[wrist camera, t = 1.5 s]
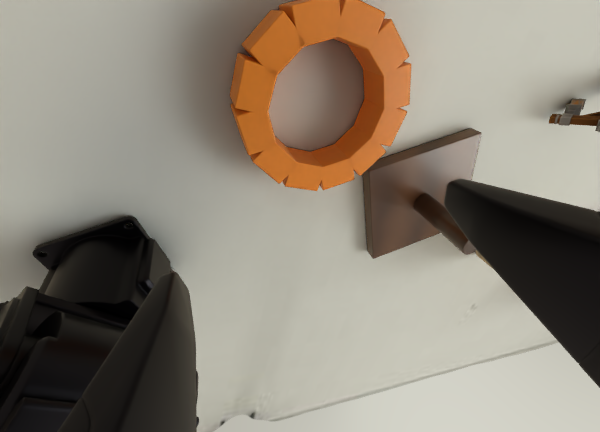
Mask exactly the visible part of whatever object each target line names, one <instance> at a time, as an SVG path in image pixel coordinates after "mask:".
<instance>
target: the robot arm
mask: <svg viewBox="0 0 600 432" xmlns="http://www.w3.org/2000/svg"><path fill="white" fill-rule="evenodd" d="M444 205H445V208H446V210H447V211H448V212H449V214H450V215H451V217H452V218H453V219H454V221H455V222H456V224H457V225H458V226H459V228H460V229H461V231H462V232H463V233H464V235H465V236H466V237H467V239H468V240H469V241H470V243H471V244H472V245H473V246H474V247H475V249H476V250H477V251H478V252H479V253H480V254H481V255H482V256H483V258H484V259H485V260H486V261H487V262H488V263H489V264H490V265H491V267H492V268H493V269H494V270H495V271H496V272H497V273H498V274H499V275H500V277H501V278H502V279H503V280H504V281H505V282H506V283H507V284H508V286H509V287H510V288H511V289H512V290H513V291H514V292H515V293H516V294H517V296H518V297H519V298H520V299H521V300H522V301H523V302H524V303H525V305H526V306H527V307H528V308H529V309H530V310H531V311H532V312H533V313H534V315H535V316H536V317H537V318H538V319H539V320H540V321H541V322H542V324H543V325H544V326H545V327H546V328H547V329H548V330H549V331H550V332H551V334H552V335H553V336H554V337H555V338H556V339H557V340H558V341H559V343H561V345H562V346H563V347H564V348H565V349H566V350H567V351H568V353H569V354H570V355H571V356H572V357H573V358H574V359H575V360H576V362H578V363H579V365H580V366H581V367H582V368H583V370H584V371H585V372H586V373H587V374H588V375H589V376H590V377H591V379H592V380H593V381H594V382H595V383H596V384H597V385H598V386H599V387H600V212H596V211H594V210H590V209H586V208H582V207H578V206H574V205H570V204H565V203H561V202H557V201H553V200H549V199H545V198H541V197H536V196H532V195H528V194H524V193H520V192H516V191H512V190H507V189H503V188H499V187H495V186H491V185H487V184H483V183H478V182H474V181H470V180H466V179H457V180H453V181H451V182H449V183H448V184H447V187H446V193H445V198H444ZM126 223H131V224H133V225H127V224H126ZM41 251H43V252H46V253H42V252H41ZM33 256H34V257H35V258H36V259H37V260H38V261H39V262H41V263H42V264H43V265H44V266H45V267H46V268H47V269H48V270H49V272H48V274H47V276H46V278H45V279H44V281H43V283H42V285H41V287H40V289H39V290H37V289H34V288H31V287H26V288H25V289H24V290H23V291H22V292H21V293H20V294H19V295H18V296H17V297H16V298H13V299H12V300H11V301H6V302H5V303H0V432H196V428H197V426H198V423H199V418H198V417H196V404H197V396H198V373H197V371H196V342H195V332H194V325H193V317H192V309H191V302H190V295H189V291H188V288H187V287H186V285H185V284H184V282H183V281H182V279H181V278H180V276H179V275H178V273H176V272H174V271H173V270H172V268H171V267H170V261H169V259H168V258H167V256H166V255H165V253H164V252H163V251H162V249H161V248H160V246H159V245H158V243H157V242H156V241H155V240H154V239H152V238H150V237H149V236H148V235H147V233H146V232H145V230H144V229H143V228H142V226H141V225H140V223H139V222H138V221H137V219H136V218H134V217H131V216H127V217H123V218H120V219H117V220H114V221H111V222H108V223H105V224H102V225H99V226H96V227H92V228H89V229H86V230H83V231H80V232H77V233H74V234H71V235H68V236H65V237H62V238H59V239H56V240H53V241H50V242H47V243H44V244H41V245H38V246H36V248H35V250H34V251H33Z"/></svg>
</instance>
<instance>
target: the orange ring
mask: <svg viewBox="0 0 600 432" xmlns="http://www.w3.org/2000/svg"><path fill="white" fill-rule="evenodd" d="M384 16H385V13H384V12H383V11H381V10H379V9H377V8H375V7H373V6H371V5H368V4H366V3H364V2H362V1H360V0H296V1H292V2H288V3H284V4H280V5H279V11H278V10H271V11H270V12H269V13H268V14H267V15H266V16H265V18H264V19H263V20H262V21H261V22H260V23H259V25H258V26H257V27H256V28H255V29H254V30H253V32H252V33H251V34H250V35H249V36H248V37H247V39H246V40H245V41H244V42H243V43H242V46H243V47H244V49H245V50H246V51H247V52H248V53H249V54H250V55H251V56H252V57H250V56H247V55H244V54H241V53H238V54H237V58H236V64H235V69H234V74H233V80H232V85H231V91H230V98H231V100H232V102H233V103H232V104H231V109H232V112H233V115H234V118H235V120H236V123H237V126H238V129H239V132H240V135H241V138H242V141H243V143H244V146H245V148H246V151H247V153H248V155H250V156H251V159H252V161H253V162H254V163H255V164H256V165H257V166H258V167H260V168H261V169H262V170H263V171H264V172H266V173H267V174H268V175H269V176H270V177H272V178H273V179H274V180H275V181H276V182H278V183H279V184H280V183H281V182H282V181H283V183H284V185H285V186H286V187H293V188H300V189H307V190H314V191H317V190H318V187H319V185H320V186H321V188H322V189H323V190H325V189H328V188H331V187H334V186H337V185H340V184H343V183H345V182H348V181H351V180H354V171H355V172H356V173H357V174H358V175H359V176H361V175H362V174H363V173H364V172H365V171H366V170H367V169H368V168H369V167H370V166H372V165H373V164H374V163H375V162H376V161H377V160H378V159H379V158H380V157H381V156H383V155H384V154H385V153H386V151H385V149H384V148H383V147H382V145H386V146H391V144H392V142H393V140H394V138H395V136H396V134H397V132H398V130H399V128H400V126H401V124H402V122H403V120H404V118H405V116H406V113H407V111H405V110H403V109H401V108H400V107H403V106H406V105H409V101H410V79H411V64H410V63H406V62H404V61H405V60H406V59H407V58H408V57H409V54H408V52H407V50H406V48H405V46H404V44H403V42H402V40H401V38H400V36H399V34H398V32H397V30H396V28H395V26H394V24H393V22H392V20H391V19H384ZM330 39H335V40H338V41H340V42H343V43H345V44H348V46H349V47H350V49H351V50H352V52H353V54H354V55H355V57H356V58H357V60H358V61H359V63H360V65H361V66H362V68H363V78H364V98H365V99H364V101H363V104H362V106H361V109H360V111H359V113H358V116H357V118H356V121H355V123H354V125H353V126H352V127H351V128H350V129H349V130H348V131H347V132H346V133H345V134H344V135H343V136H342V137H341V138H340V139H339V140H338V141H337V142H336V143H335V144H333V145H330V146H327V147H324V148H321V149H318V150H314V151H311V152H309V151H304V150H299V149H295V148H290V147H286V146H285V145H284V144H283V143H282V142H281V141H280V140H279V139H278V138H277V137H276V136H275V135H274V132H273V128H272V124H271V120H270V117H269V113H268V110H269V106H270V102H271V98H272V94H273V90H274V86H275V82H276V78H277V75H278V74H279V73H280V72H281V71H282V70H283V69H284V67H285V66H286V65H287V64H288V63H289V62H290V61H291V60H292V59H293V58H294V57H295V55H296V54H297V53H298V52H299V51H300V50H301V49H302V48H303V47H305V46H308V45H312V44H316V43H319V42H323V41H326V40H330ZM381 144H382V145H381Z"/></svg>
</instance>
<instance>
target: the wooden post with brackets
mask: <svg viewBox="0 0 600 432" xmlns="http://www.w3.org/2000/svg"><path fill="white" fill-rule="evenodd" d="M585 100H586V99H572V100H571V103H570V104H567V105H566V109H565V113H563V115H560V114H552V115H551V117H550V120H549V123H554V124H559V125H570V124H573V125H590V126H597V127H596V131H599V132H600V112H596V113H592V114H587V115H580V112H581V109H583V107H584V104H585Z"/></svg>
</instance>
